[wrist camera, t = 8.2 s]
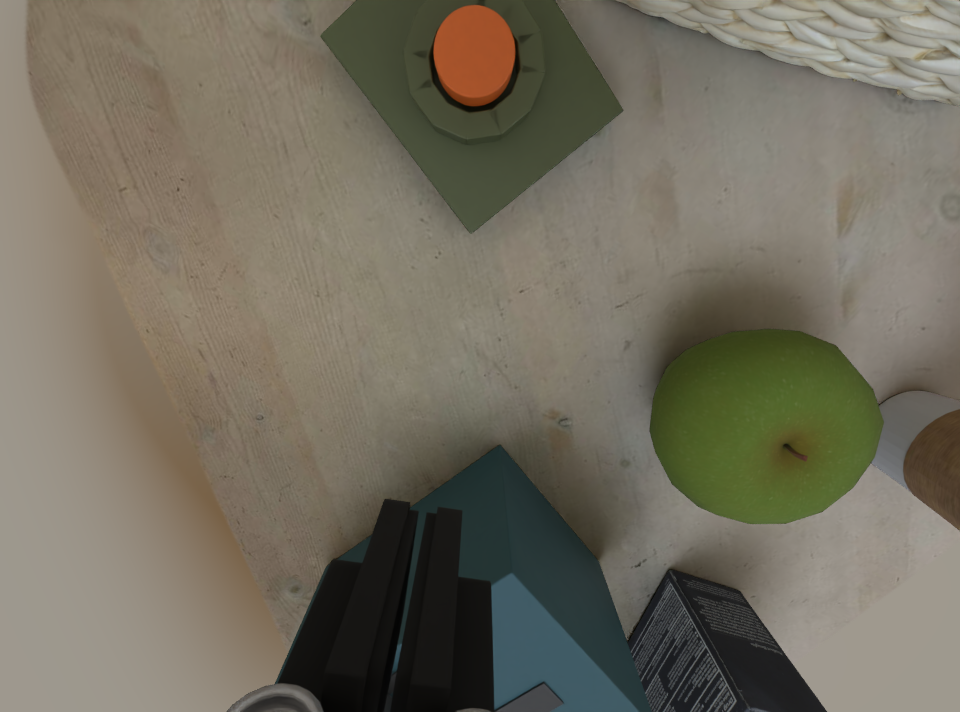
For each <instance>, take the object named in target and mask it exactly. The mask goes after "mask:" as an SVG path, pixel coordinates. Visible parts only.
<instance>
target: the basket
mask: <svg viewBox="0 0 960 712" xmlns="http://www.w3.org/2000/svg"><path fill="white" fill-rule="evenodd" d="M616 1H619V2H622V3H625V4H627V5H628V6H629V7H631V8H634V9H638V10H639V11H641V12H642V13H645V14H647V15H650V16H656V17H663V18H665V19H667V20H668V21H670V22H672V23H674V24H676V25H678V26H681V27H685V28H689V29H694V30H696V31H700V32H702V33H704V34H705V33H710V34H711V35H712V36H714V37H715V38H717V39H718V40H720V41H722V42H723V43H725V44H728V45H731V46H733V47H736V48H742V49H747V50H757V51H761V52H763V53H764V54H766V55H767V56H769V57H770V58H773V59H776V60H779V61H782V62H786V63H789V64H793V65H797V66H810V67H812V68H813V69H814V70H816V71H817V72H819V73H821V74H823V75H827V76H831V77H835V78H844V79H850V78H852V79H853V81H854V82H855V81H857V80H858V81H862V82H865V83H868V84H871V85H874V86H878V87H886V88H893V89H897V94H898V95H901V94H904V95H905V96H906V97H908V98H911V99H914V100H936V101H939V102H942V103H946V104H951V105H955V106H960V0H616Z"/></svg>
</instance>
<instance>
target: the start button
mask: <svg viewBox="0 0 960 712" xmlns="http://www.w3.org/2000/svg"><path fill="white" fill-rule="evenodd" d="M433 54H434V62H435V66H436V70H437V73H438V77H439V80H440V82H441V84H442V86H443V88H444V89H445V91H446V92H447V93H448V95H450V96H451V97H452V98H453V99H454V100H456V101H457V102H459V103H461V104H464V105H467V106H482V105H486V104H489V103H491V102H492V101H494V100H495V99H497V98H498V97H499V96H500V95H501V94H502V93H503V92H504V90H505V89H506V87H507V85H508V83H509V81H510V78H511V75H512V71H513V66H514V61H515V43H514V38H513V35H512V32H511V30H510V28H509V26H508V24H507V23H506V22H505V20H504V19H503V18H502V17H501V16H500V15H499V14H498V13H496V12H495V11H493V10H492V9H490V8H487V7H485V6H480V5H468V6H464V7H461V8H459V9H457V10H455V11H453V12H452V13H451V14H449V15H448V16H447V17H446V18H445V20H444V21H443V22H442V24H441V25H440V27H439V29H438V31H437V34H436V37H435V41H434V50H433Z"/></svg>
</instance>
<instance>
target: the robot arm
mask: <svg viewBox="0 0 960 712" xmlns="http://www.w3.org/2000/svg"><path fill="white" fill-rule="evenodd" d="M418 513H419V511H416V510H410V502H404V501H397V500H390V499H385V500H384V502H383V505H382V508H381V511H380V513H379V516H378V519H377V522H376V525H375V528H374V531H373V534H372V536H371V539H370V542H369V545H368V548H367V551H366V554H365V557H364V559H363V562H362V563H359V562H352V561H345V560H338V559H333V560H332V561H331V563H330V565H329V567H328V570H327V572H326V574H325V576H324V579H323V581H322V583H321V585H320V588H319V590H318V592H317V594H316V597H315V599H314V601H313V604H312V606H311V608H310V610H309V613H308V615H307V617H306V619H305V622H304V624H303V626H302V628H301V631H300V633H299V635H298V638H297V640H296V642H295V644H294V647H293V649H292V651H291V653H290V656H289V658H288V660H287V662H286V665H285V667H284V669H283V672H282V674H281V676H280V678H279V681H278V683H277V684H274V685H268V686H264V687H262V688H259V689H257V690H255V691H252V692H250V693H248V694H246V695H245V696H244V697H242V698H241V699H240V700H238V701H237V702H236V703H235V704H233V705H232V706H231V707H230V708H229V709H228V710H227V712H384V711H385V706H386V701H387V696H388V691H389V686H390V681H391V676H392V671H393V666H394V661H395V656H396V651H397V645H398V640H399V635H400V630H401V625H402V619H403V613H404V607H405V600H406V594H407V587H408V580H409V574H410V567H411V560H412V554H413V547H414V540H415V534H416V527H417V520H418ZM461 527H462V510H458V509H451V508H444V507H438V508H437V513H430V512H427V513H426V519H425V524H424V529H423V534H422V540H421V545H420V550H419V556H418V561H417V566H416V572H415V577H414V582H413V587H412V593H411V598H410V603H409V609H408V614H407V619H406V625H405V630H404V635H403V640H402V646H401V651H400V656H399V662H398V667H397V673H396V679H395V684H394V690H393V697H392V703H391V710H390V712H495V710H494V671H493V632H492V592H491V582H490V581H487V580H480V579H473V578H466V577H459V576H458V573H459V558H460V542H461Z"/></svg>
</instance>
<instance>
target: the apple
mask: <svg viewBox="0 0 960 712" xmlns="http://www.w3.org/2000/svg"><path fill="white" fill-rule="evenodd" d="M883 425H884V420H883V417H882V414H881V412H880V409H879V406H878V403H877V400H876V397H875V394H874V391H873V389H872V388H871V386H870V385H869V384H868V383H867V382H866V380H865V379H864V378H863V377H862V375H861V374H860V373H859V372H858V371H857V369H856V368H855V367H854V366H853V365H852V364H851V362H850V361H849V360H848V359H847V358H846V357H845V355H844V354H843V353H842V352H841V351H840V350H839V348H838V347H837V346H836V345H833V344H831V343H828V342H826V341H823V340H821V339H818V338H816V337H813V336H811V335H808V334H806V333H803V332H801V331H790V330H777V329H760V330H748V331H736V332H731V333H728V334H724V335H721V336H718V337H715V338H712V339H709V340H706V341H704V342H702V343H699V344H697V345H695V346H693V347H691V348H689V349H687V350H685V351H684V352H683V353H682V354H681V355H680V356H678V357H677V358H676V359H675V360H674V361H673V362H672V363H671V364H669V365H668V366H667V368H666V370H665V372H664V374H663V376H662V378H661V380H660V382H659V384H658V386H657V388H656V391H655V394H654V398H653V405H652V414H651V422H650V434H651V438H652V442H653V445H654V449H655V452H656V454H657V456H658V458H659V460H660V462H661V464H662V466H663V468H664V470H665V472H666V474H667V475H668V477H669V479H670V481H671V483H672V485H674V486H675V487H676V488H677V489H678V490H679V491H681V492H682V493H683V494H684V495H685V496H686V497H687V498H689V499H690V500H691V501H692V502H693V503H694V504H696V505H697V506H698V507H700V508H702V509H705V510H707V511H709V512H712V513H714V514H716V515H719V516H722V517H726V518H730V519H734V520H737V521H741V522H745V523H748V524H786V523H789V522H792V521H795V520H798V519H802V518H805V517H808V516H811V515H814V514H817V513H820V512H823V511H824V510H825V509H827V508H828V507H829V506H830V505H832V504H833V503H834V502H836V501H837V500H838V499H839V498H841V497H842V496H843V495H845V494H846V493H847V492H848V491H850V490H851V489H852V488H853V487H854V486H855V484H856V483H857V481H858V480H859V479H860V477H861V476H862V475H863V473H864V472H865V470H866V469H867V468H868V466H869V465H870V463H871V462H872V461H873V459H874V458H875V455H876V451H877V448H878V444H879V440H880V436H881V432H882V428H883Z"/></svg>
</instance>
